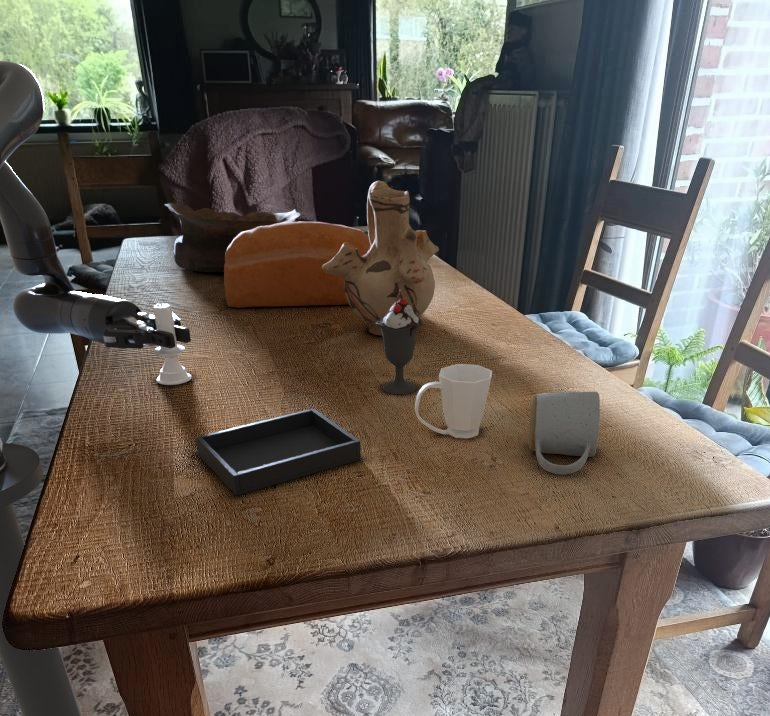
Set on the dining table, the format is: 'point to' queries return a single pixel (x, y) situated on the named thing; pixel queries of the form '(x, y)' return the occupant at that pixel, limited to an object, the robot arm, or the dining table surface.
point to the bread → (288, 264)
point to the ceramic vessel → (386, 260)
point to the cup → (460, 398)
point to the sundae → (399, 342)
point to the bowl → (214, 234)
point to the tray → (277, 450)
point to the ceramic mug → (564, 427)
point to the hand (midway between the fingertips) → (180, 338)
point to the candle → (171, 367)
